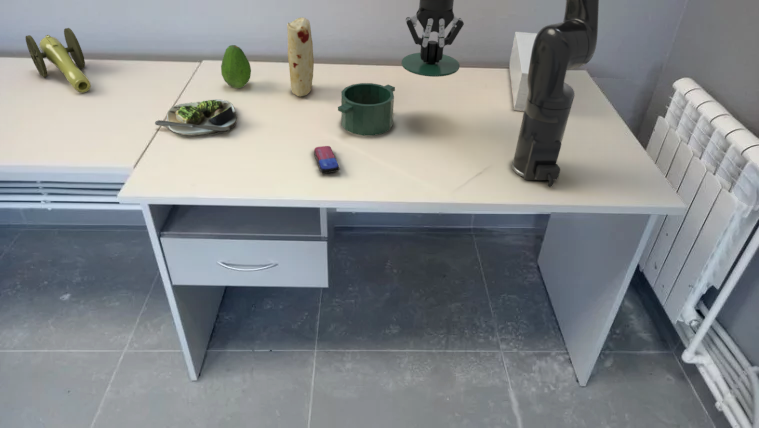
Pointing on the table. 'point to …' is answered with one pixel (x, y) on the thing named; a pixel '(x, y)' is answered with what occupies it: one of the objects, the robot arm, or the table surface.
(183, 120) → the salad plate
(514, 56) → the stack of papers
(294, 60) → the food model
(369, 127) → the pot
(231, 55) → the avocado
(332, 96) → the table surface
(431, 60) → the lid
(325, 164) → the eraser
